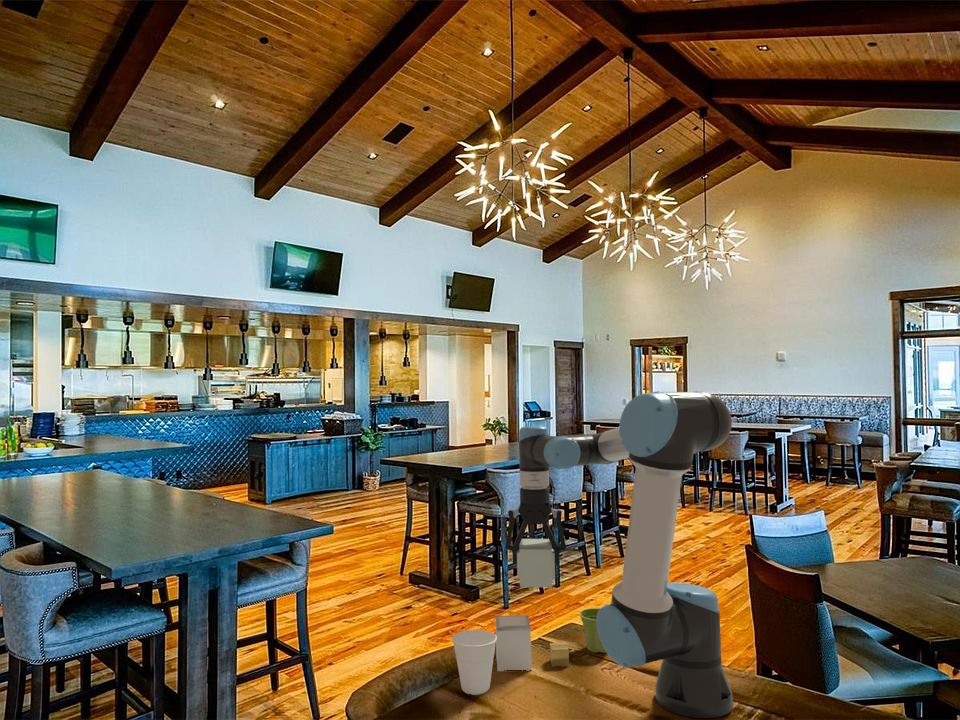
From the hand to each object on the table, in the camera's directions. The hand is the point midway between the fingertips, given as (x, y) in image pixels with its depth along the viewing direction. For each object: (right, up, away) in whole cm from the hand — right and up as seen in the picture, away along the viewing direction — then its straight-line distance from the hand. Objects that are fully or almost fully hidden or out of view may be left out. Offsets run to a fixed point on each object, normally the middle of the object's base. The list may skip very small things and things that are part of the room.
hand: (536, 577), depth 160 cm
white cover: (-6, -18, -9) cm, 21 cm away
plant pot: (+16, -18, -1) cm, 24 cm away
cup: (-15, -17, -22) cm, 32 cm away
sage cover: (0, -1, 0) cm, 1 cm away
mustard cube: (+5, -17, -9) cm, 20 cm away
